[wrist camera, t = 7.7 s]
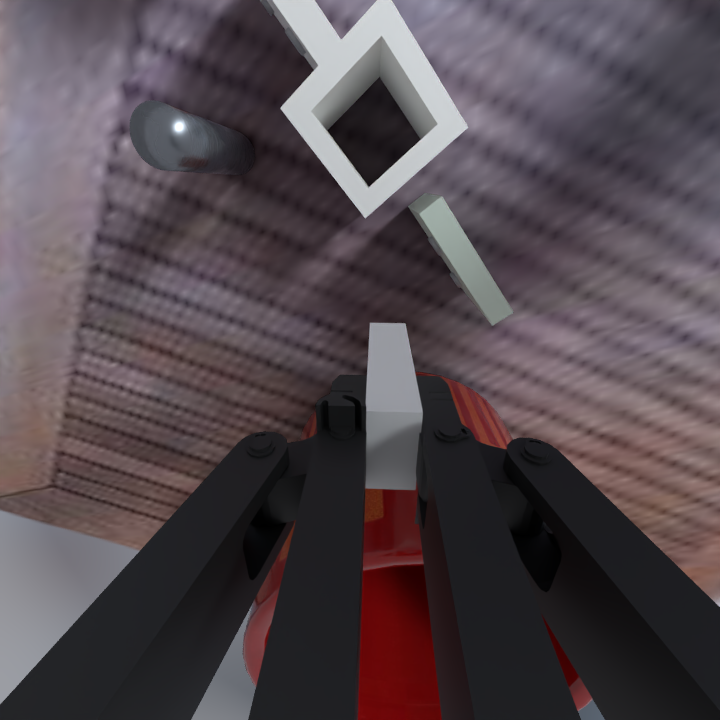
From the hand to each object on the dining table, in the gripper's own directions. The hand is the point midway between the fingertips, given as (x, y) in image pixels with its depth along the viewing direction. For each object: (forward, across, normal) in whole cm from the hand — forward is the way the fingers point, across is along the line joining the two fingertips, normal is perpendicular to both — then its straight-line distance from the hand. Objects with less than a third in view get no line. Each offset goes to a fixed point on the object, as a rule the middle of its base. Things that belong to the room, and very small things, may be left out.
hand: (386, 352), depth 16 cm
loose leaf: (+17, +5, +2) cm, 18 cm away
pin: (+18, -12, +9) cm, 23 cm away
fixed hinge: (+18, -3, +13) cm, 22 cm away
